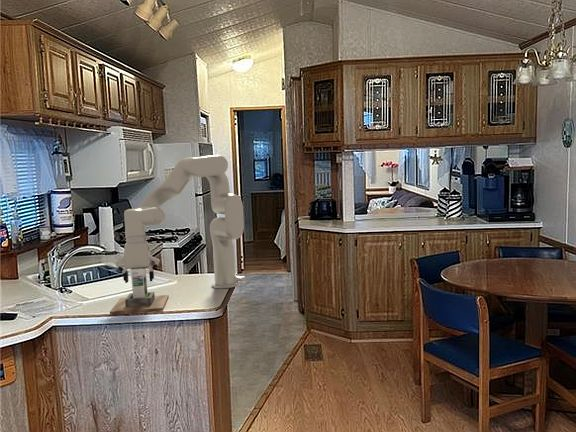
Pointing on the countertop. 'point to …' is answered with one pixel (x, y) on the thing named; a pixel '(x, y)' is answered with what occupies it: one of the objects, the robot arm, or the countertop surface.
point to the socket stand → (140, 304)
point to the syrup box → (139, 282)
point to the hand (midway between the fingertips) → (139, 281)
